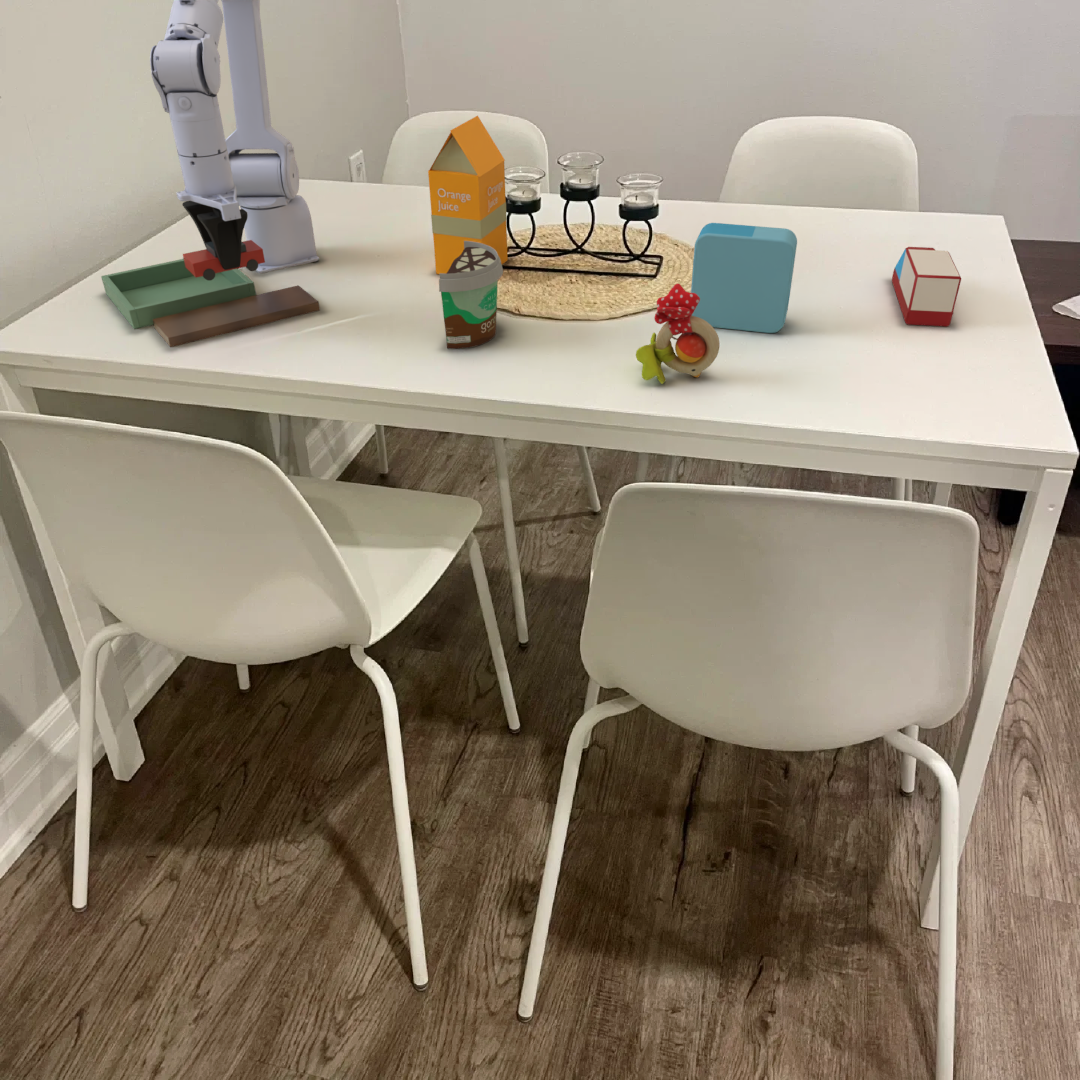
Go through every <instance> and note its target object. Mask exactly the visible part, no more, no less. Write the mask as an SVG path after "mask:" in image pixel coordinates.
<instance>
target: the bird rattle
mask: <svg viewBox="0 0 1080 1080" xmlns="http://www.w3.org/2000/svg"><path fill="white" fill-rule="evenodd" d="M699 301H700V298H699V296H698V295H697V294H695V293H691V292H688V291H686V290H685V288H684V287H683V286H682V285H681V284H680V283H675V284H674V285H673V286H672V287H671V288H670V290H669V291H668V293H667V294H666V295H665V296H661V297H659V298H657V300H656V307H657V308H656V312H655V314H654V317H653V318H654V321H655V323H656V324H658V325H662V327H661V328H660V329H659V332H658V333H657V334H656V332H653V333H652V334H651V337H650V340H649V341H650V343H649V344H645V345H643V346H639V348H637V350H636V351H635V358H636V360H637V361H638V362H639V363H641V365H642V366H641V367H642V369H641V378H642V379H643V380H644V381H649V380H652V379H653V378H654V377H656V379H657V380H658V382H659V383H660V385H664V383H665V382H666V380H667V379H666V376H665V373H664V371H663V369H662V363H663V364H664V365H666V366H667V367H668V368H669V369H672V370H674V371H675V372H677V373H681V374H688V375H690V376H692V377H694V378H699V377H700V376H701V374H702V372H703V371H705V370H707V369H708V368H709V367H710V366H712V364H713V363H714V361H715V360H716V358H717V357H718V354H719V352H720V346H721V345H720V343H721V342H720V338H719V335H718V333H717V331H716V329H715V327H712V326H711V325H710V324H709V323H708V322H706V321H705V320H703V319H701V318H699V317H695V316H692V314H693V312H694V310H695V309H696V307H697V305H698V303H699ZM677 335H679V336H678V338H677V337H674V336H677ZM671 339H673V340H676V342H675V345H674V347H673V343H672V340H671Z"/></svg>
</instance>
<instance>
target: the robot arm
mask: <svg viewBox="0 0 1080 1080" xmlns="http://www.w3.org/2000/svg"><path fill="white" fill-rule="evenodd" d="M220 1H221V6H222V9H221V7H220V5H219V4H218V3H219V0H172V4H171V9H170V13H169V17H168V22H167V25H166V30H165V34H164V37H163V39H162V40H159V41H158V42H157V44H156V45H155V44H154V45H153V46H152V47H151V49H150V53H149V66H150V74H151V78H152V82H153V84H154V87H155V89H156V91H157V92H158V94H159V97H160V101H161V104H162V109H164V112H166V113H167V114H168V115H169V120H170V123H171V124H170V125H171V129H172V134H173V138H174V142H175V148H176V152H177V157H178V160H179V161H178V162H179V166H180V170H181V175H182V179H183V183H184V190H181V191H176V192H175V193H176V194H175V195H176V198H177V199H178V201H180V202H182V207H183V208H184V210H185V211H186V212H187V213H188V215H189V216H190V218H191V220H192V221H193V223H194V224H195V227H196V228H197V230H198V232H199V234H200V237H201V239H202V242H203V245H204V246H205V248H206V244H205V243H207V242H213V245H214V248H215V251H216V254H217V256H218V259H219V261H220V264H221V266H222V267H223V269H224V270H227V269H232V268H237V267H240V263H241V241H242V240H243V233H244V235H245V241H248V240H252V241H253V242H254V243H256V244H257V245H258V246H259V247H261V248H262V249H263V254H264V259H265V263H261V264H258V268H257V269H256V270H255V271H254V272H256V273H257V274H265V273H270V272H273V271H279V270H283V269H287V268H291V267H295V266H301V265H304V264H309V263H314V262H319V260H320V256H318V254H317V247H316V240H315V233H314V227H313V219H312V214H311V212H310V211H311V210H310V207H309V206H308V204H307V201H306V199H305V198H304V197H303V195H299V190H300V174H299V173H300V172H299V166H298V163H297V160H296V155H295V148H294V146H293V143H292V142H291V141H290V140H289V138H287V137H286V136H285V135H283V134H282V133H280V132H279V131H278V130H277V129H275V128H274V127H273V126H272V120H271V119H272V118H271V111H270V110H271V107H270V101H269V90H268V81H267V78H268V77H267V69H266V59H265V51H264V50H265V49H264V42H263V41H264V39H263V30H262V29H263V28H262V20H261V11H260V10H261V0H220ZM223 23H224V32H225V40H226V41H225V42H226V48H227V49H226V51H227V57H228V66H229V76H230V85H231V94H232V102H233V110H234V119H235V127H236V128H235V129H234V130H233V132H231V134H230V135H228V137H226V136H225V131H224V130H225V129H224V125H223V120H222V114H221V109H220V104H219V98H218V93H219V91H220V89H221V66H220V65H221V59H220V58H221V56H220V53H219V50H218V48H219V44H220V43H219V42H220V39H221V38H220V37H221V34H222V29H223ZM245 150H269V151H270V150H271V151H274V152H252V153H251V152H250V153H249V152H247V153H245V152H244V153H241V152H242V151H245ZM242 242H243V241H242Z"/></svg>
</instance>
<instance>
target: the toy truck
mask: <svg viewBox="0 0 1080 1080" xmlns="http://www.w3.org/2000/svg"><path fill="white" fill-rule="evenodd" d="M891 283H892V286H893V288H894V292H895V295H896V298H897V301H898V304H899V307H900V311H901V313H902V316H903V320H904V323H905V324H906V326H924V327H925V326H926V327H927V326H928V327H944V328H945V327H946V328H949V326H951V323H952V320H953V315H954V311H955V307H956V302H957V298H958V294H959V290H960V286H961V283H962V277H961V274H960V273H959V270H958V268H957V265H956V264H955V262H954V259H953V258H952V256H951V253H950V252H949V251H948V250H937V249H935V248H934V247H925V246H907V247H906V248H904V251H902V254H901V256H900V258H899V259H898V261H897V262H896V265H895V266H894V269H893V271H892V276H891Z"/></svg>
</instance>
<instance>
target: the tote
mask: <svg viewBox="0 0 1080 1080" xmlns="http://www.w3.org/2000/svg"><path fill="white" fill-rule="evenodd" d="M100 277H101V281H102V284H103V288H104V291H105V294H106V296H107V297H108V298H109V300H110V301H111V302H112V303H113V304H114V306H115V307H116V308H117V310H118V311H119V312H120V314H121V315H122V316H123V318H124V319H125V320H126V321H127V322H128V323H129V325H130V326H131V327H132V329H133V330H136V329H141V328H145V327H150V326H154V324H153V319H156V318H160V317H164V316H169V315H173V314H177V313H182V312H186V311H190V310H194V309H199V308H203V307H207V306H212V305H216V304H220V303H224V302H229V301H233V300H237V299H242V298H246V297H250V296H254V295H257V292H256V287H255V283H254V281H253V280H252V279H251V278H249V277H248V276H247V275H246V274H245V273H244V272H242V271H241V270H240V268H238V269H233V270H228V271H224V272H219V273H215V278H214V279H213V280H210V281H209V280H206V279H205V278H204V277H203V276H201V277H195V276H194V275H193V274H192V273H191V272H190V271H189V270H188V269H187V268H186V267H185V262H184V258H181V259H175V260H171V261H165V262H162V263H157V264H151V265H147V266H142V267H138V268H137V267H136V268H132V269H128V270H123V271H118V272H114V273H109V274H104V275H101V276H100Z"/></svg>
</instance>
